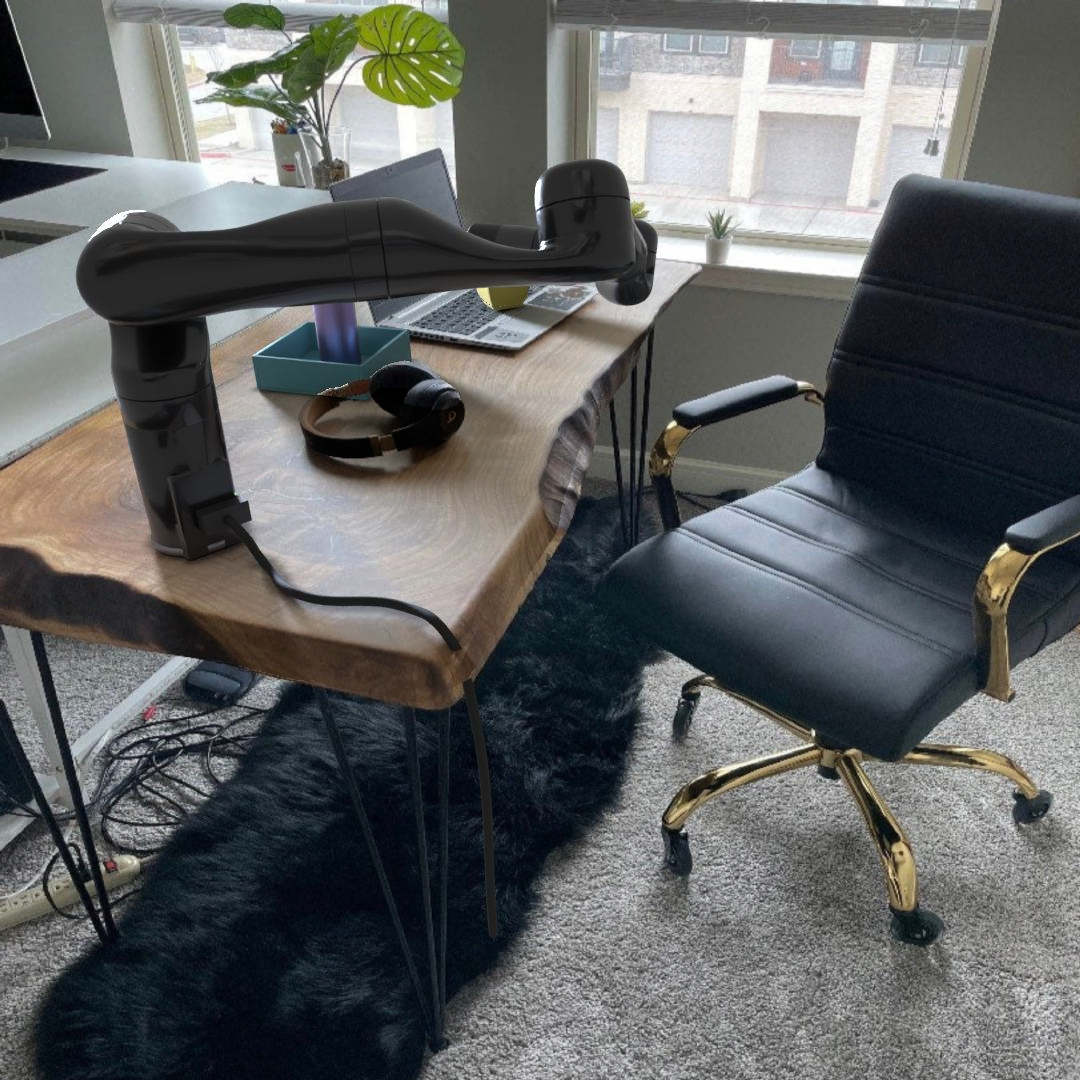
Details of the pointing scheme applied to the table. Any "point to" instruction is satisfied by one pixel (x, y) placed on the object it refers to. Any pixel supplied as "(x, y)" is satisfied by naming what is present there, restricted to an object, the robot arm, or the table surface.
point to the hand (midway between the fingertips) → (392, 246)
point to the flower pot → (504, 296)
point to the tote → (302, 372)
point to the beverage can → (337, 333)
